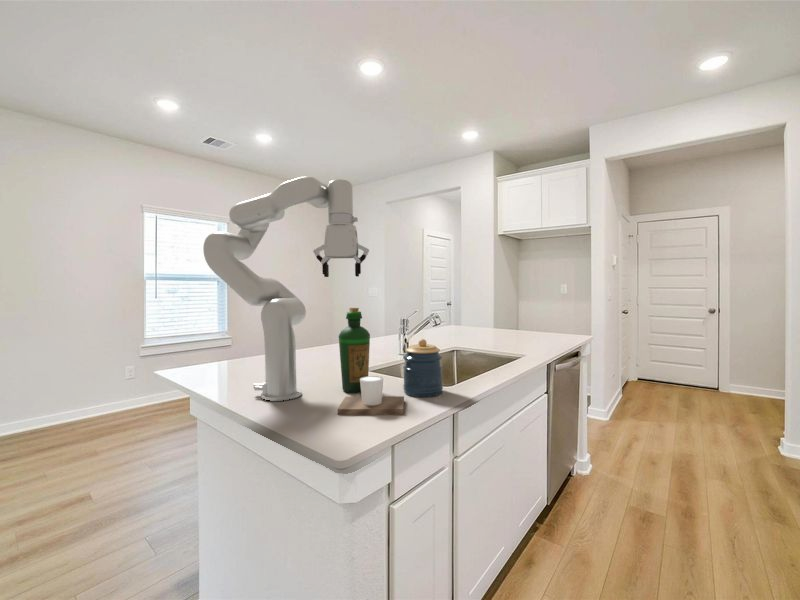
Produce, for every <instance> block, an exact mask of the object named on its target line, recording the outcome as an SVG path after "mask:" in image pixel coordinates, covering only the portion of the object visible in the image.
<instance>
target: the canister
mask: <svg viewBox="0 0 800 600" xmlns="http://www.w3.org/2000/svg"><path fill="white" fill-rule="evenodd" d="M427 343H428V342H427V341H426V339H424V338H420V339H419V341H418V344H413V345H412V344H411V345H410V346H409V347H407V348H406V349H405V352H406V354H405V355H403V357H402V359H403V360H404V365H403V391H404V394H406V395H407V396H410V397H416V398H431V397H436V396H440V395H441V394H442V393H443V389H444V385H443V369H444V368H443V365H442V359H443V356H442V355H441V354H440V353H439V352H440V351H441V350H440V348H438V347H436V345H434V344H427Z"/></svg>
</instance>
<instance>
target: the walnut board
mask: <svg viewBox="0 0 800 600" xmlns="http://www.w3.org/2000/svg"><path fill="white" fill-rule="evenodd" d="M404 409H405V396H403V395H402V396H401V395H400V396H399V395H398V396H397V395H396V396H395V395H394V396H393V395H392V396H383V395H382V403H381V404H378V405H364V404H362V396H345V397H343V400H342V401H341V402H340V404H339V406H338V407H337V410H336V411H337V412H336V413H337V416H338V415H339V416H341V415H343V416H344V415H346V416H348V415H349V416H353V415H354V416H355V415H356V416H357V415H359V416H360V415H363V416H364V415H367V416H370V415H374V416H375V415H377V416H378V415H379V416H381V415H382V416H383V415H388V416H391V415H395V416H396V415H400V416H401V415H404Z"/></svg>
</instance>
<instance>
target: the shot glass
mask: <svg viewBox="0 0 800 600" xmlns="http://www.w3.org/2000/svg"><path fill="white" fill-rule="evenodd" d="M360 386H361V392H360V393H361V396H360V397H362V404H364V405H378V404H381V403H382V396H383V388H384V378H383V377H382V376H379V375H368V376H367V377H362V378H360Z"/></svg>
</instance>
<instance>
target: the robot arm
mask: <svg viewBox="0 0 800 600" xmlns="http://www.w3.org/2000/svg"><path fill="white" fill-rule="evenodd" d="M353 195H354V194H353V185H352V182H350V181H349V180H346V179H342V178H341V179H339V178H337V179H333V180H330V181H329V182H328V184H326V183H323V182H321V181H320V180H319V179H317V178H316V177H313V176H307V175H306V176H300V177H297V178H294V179H291V180H287V181H284V182H283V183H280V184H279V185H278V186H276V187H275V188H274V189H273V190H272V191H271V192H270V193H267V194H264V195H261V196H258V197H254V198H251V199H247V200H244V201H241V202H238V203H236V204H234V205H233V206H232V207H230V209H229V213H228V216H229V219H230V222H232V224H233V225H234V226H236V227H237V228H238V229H240V231H238V233H237V234H236V233H231V232H227V231H215V232H212V233H209V234H208V235H207V237H206V238H205V239H204V243H203V256H204V259H205V262H206V263H207V265H208V267H209V269H210V270H211V271H212V272H213V273H214V274H215V275H216V276H218V277H219V278H220V279H221V280H222V281H223V282H225V284H226V285H227V286H229V287H230V288H231V290H233V291H234V292H235V293H236V294H237V295H238V296H239V297H241V299H243V300H244V302H246V303H247V304H248V305H250V306H253V307H262V308H261V310H260V311H261V312H260V320H261V326H262V331H263V338H264V340H263V342H264V364H265V366H264V369H265V370H264V371H265V376H264V377H265V378H264V379H265V382H263V383H262V382H261V383H260V382H259V383H253V389H254V390H253V391H261V393H260V399H261V398H262V399H261V400H263V399H265V400H264V401H266V400H270V401H269V402H282V401H283V400H284V401H289V399H290V400H293V399H296V398H299V397H300V396H302V389H300V388H298V387H297V358H296V357H297V350H296V349H297V347H296V336H295V335H296V334H295V331H294V328H293V326H296V325H299V324H300V323H302V322H303V321H304V319H305V318H306V316H307V310H306V306H305V305H304V303H303V301H302V300H301V299H300V298H299V297H297V295H295V294H294V293H293V292H292V291H291V290H290V289H289V288H287V286H285V285H284V284H283V283H281V282H280V281H279V280H276V279H275V278H272V277H271V278H270V277H263V276H260V275H258V274H257V273H255V272H254V271H253V270H252V269H251V268H249V267H248V266H247V265H246V264H245V263H244V262H241V261H243V260H246V259H249V258H250V257H251V256H252V255H253V254H254V253H255V252H256V249H257V248H258V246H259V244H260V243H261V241H262V239H263V238H264V237H265V234H266V232H268V231H267V230H268V228H269V226H270V223H272V222H276V221H280V220H282V219H283V218H284V217H285V210H287V209H288V208H290V207H293V206H296V205H299V204H303V203H307V204H309V205H310V206H313V207H315V208H316V209H326V208H328V210H327V211H328V212H327V213H328V215H327V216H328V224H327V225H326V227H325V233H324V234H325V235H324V243H323V244H322V245H320V246H317V248H314V249H313V250H312V252H313V253H314V255H315V258H316V260H318V261H319V262H320V263H321V265H322V266H321V267H322V269H321V271H322V275H323V276H324V278H329V275H330V273H329V271H330V270H329V264H328V263H329V261H330V260H331V259H353V260H354V261H355V263H354V275H355V277H359V276H360V275H361V274H362V273H361V272H362V270H361V269H362V268H361V267H362V265H361V264H362V263H363V262H364V261H365V259H367V256H368V255H369V253H370V249H369V248H368V247H365V246H363V245H361V244H359V239H358V232H357V226H356V225H355V224H354V223H357V222H358V221H359V220H358V218H359V217H357V216H354V209H353V208H354V204H353V199H354V198H353ZM359 250H361V251H362V252H363V253H362V255H361V256H359ZM322 251H323V252H324V257H322V255H321V254H320V253H321V252H322Z"/></svg>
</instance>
